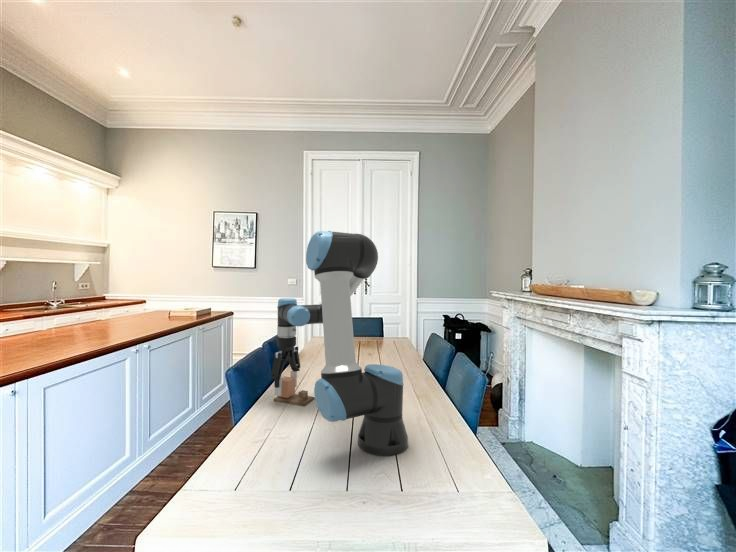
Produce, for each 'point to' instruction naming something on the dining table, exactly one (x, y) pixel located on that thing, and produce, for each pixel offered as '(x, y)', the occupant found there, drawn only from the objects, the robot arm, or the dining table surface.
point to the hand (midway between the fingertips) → (286, 390)
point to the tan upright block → (287, 387)
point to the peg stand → (297, 399)
